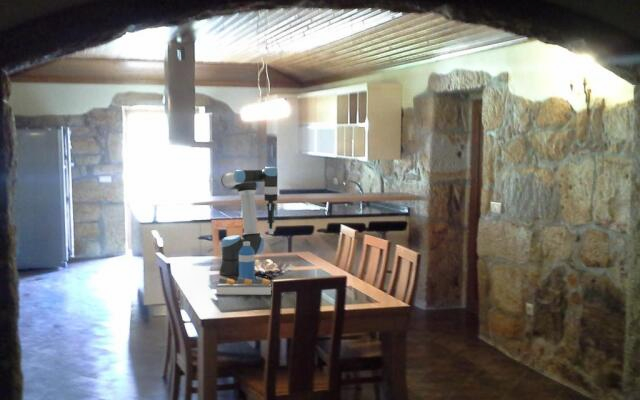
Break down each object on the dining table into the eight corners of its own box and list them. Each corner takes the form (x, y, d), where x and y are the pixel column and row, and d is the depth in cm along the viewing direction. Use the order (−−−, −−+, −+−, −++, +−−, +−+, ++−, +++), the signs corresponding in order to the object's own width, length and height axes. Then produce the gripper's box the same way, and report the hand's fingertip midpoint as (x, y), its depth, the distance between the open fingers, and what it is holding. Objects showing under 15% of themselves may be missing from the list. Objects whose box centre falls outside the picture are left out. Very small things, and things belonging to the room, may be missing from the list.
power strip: (219, 290, 390) (219, 281, 390) (272, 290, 390) (272, 281, 390) (216, 294, 380) (216, 285, 380) (270, 294, 380) (270, 285, 380)
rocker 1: (220, 279, 387) (220, 276, 387) (233, 283, 387) (234, 280, 387) (218, 281, 382) (219, 278, 382) (232, 285, 382) (233, 281, 382)
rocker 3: (255, 279, 387) (256, 276, 387) (269, 283, 387) (270, 280, 387) (254, 281, 382) (255, 278, 382) (268, 285, 382) (269, 282, 382)
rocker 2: (237, 279, 387) (238, 276, 387) (251, 283, 387) (252, 279, 387) (236, 281, 382) (237, 278, 382) (250, 285, 382) (251, 281, 382)
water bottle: (240, 286, 399) (239, 243, 397) (237, 282, 408) (237, 241, 406) (256, 285, 402) (255, 243, 399) (253, 281, 411) (253, 240, 408)
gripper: (265, 192, 406) (265, 231, 409) (263, 194, 393) (263, 235, 396) (278, 192, 406) (278, 232, 409) (276, 195, 393) (276, 235, 396)
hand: (271, 233), depth 402 cm, fingers closed
